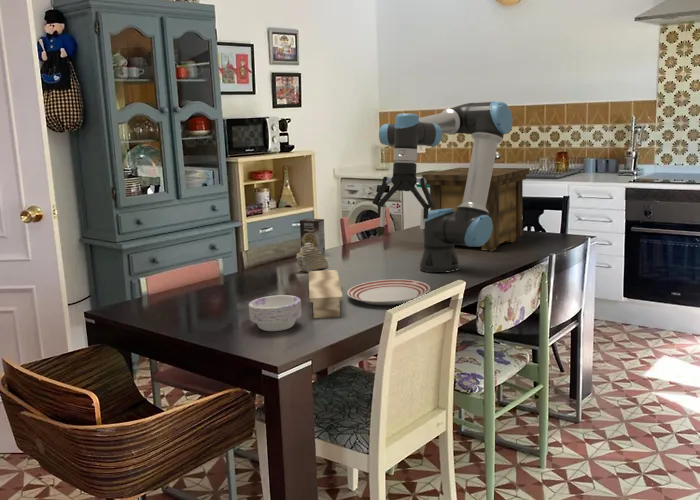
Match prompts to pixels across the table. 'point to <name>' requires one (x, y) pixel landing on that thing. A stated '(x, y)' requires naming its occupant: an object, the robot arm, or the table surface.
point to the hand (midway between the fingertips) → (402, 227)
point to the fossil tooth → (310, 258)
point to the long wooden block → (325, 293)
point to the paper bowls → (275, 312)
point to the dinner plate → (388, 291)
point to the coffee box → (313, 233)
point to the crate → (500, 200)
